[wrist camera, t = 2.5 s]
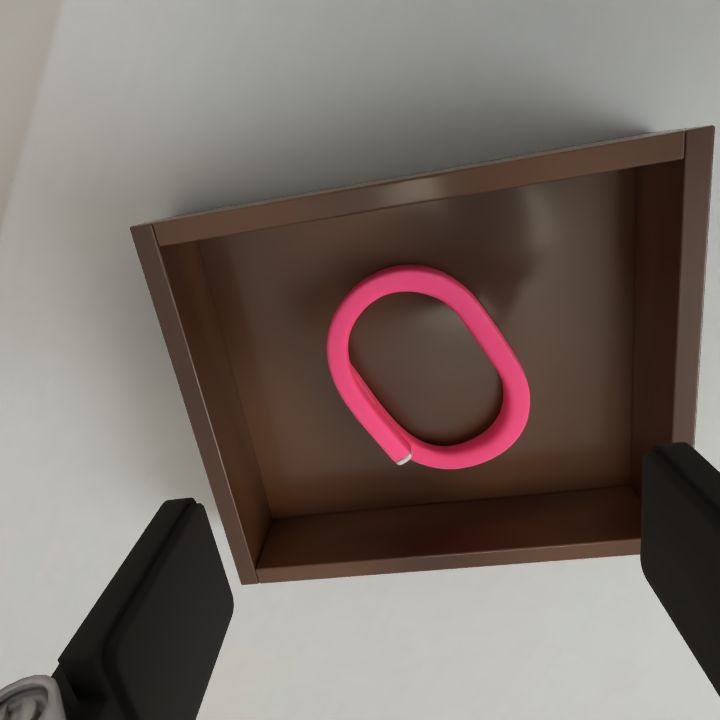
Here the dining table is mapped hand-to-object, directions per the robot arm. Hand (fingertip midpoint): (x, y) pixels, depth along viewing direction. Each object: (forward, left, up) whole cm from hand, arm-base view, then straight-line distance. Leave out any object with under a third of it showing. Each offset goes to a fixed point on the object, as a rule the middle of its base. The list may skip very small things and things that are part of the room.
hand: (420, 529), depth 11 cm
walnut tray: (-1, 0, -9) cm, 9 cm away
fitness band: (-1, 0, -9) cm, 9 cm away
